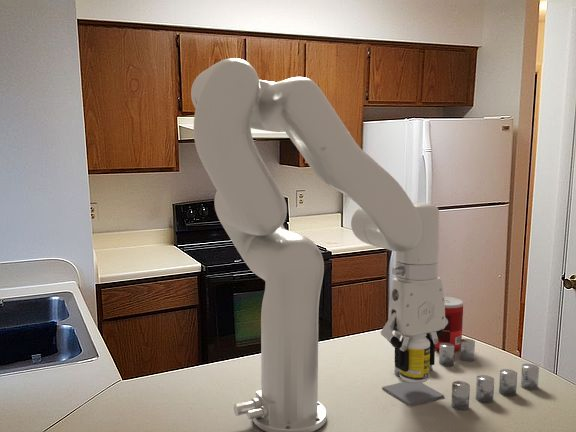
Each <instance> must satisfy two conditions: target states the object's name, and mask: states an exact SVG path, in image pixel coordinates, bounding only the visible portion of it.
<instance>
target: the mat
mask: <svg viewBox="0 0 576 432" xmlns="http://www.w3.org/2000/svg"><path fill="white" fill-rule="evenodd" d="M381 389H382V390H383V391H385V392H387V394H390V395H391V396H392V397H394V398H396V399H398V400H399V401H401V402H403V403H404V404H406V406H408V407H412V406H416V405H421V404H423V403H427V402H432V401H435V400H439V399H442V398H445V395H444V394H443V393H441V392H439V391H437V390H436V389H434V388H432V387H430V386H428V385H426V384H425V383H424V382H423V383H412V382H408V381H405V380H404V381H401V382H397V383H393V384H389V385H386V386H382V387H381Z"/></svg>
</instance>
